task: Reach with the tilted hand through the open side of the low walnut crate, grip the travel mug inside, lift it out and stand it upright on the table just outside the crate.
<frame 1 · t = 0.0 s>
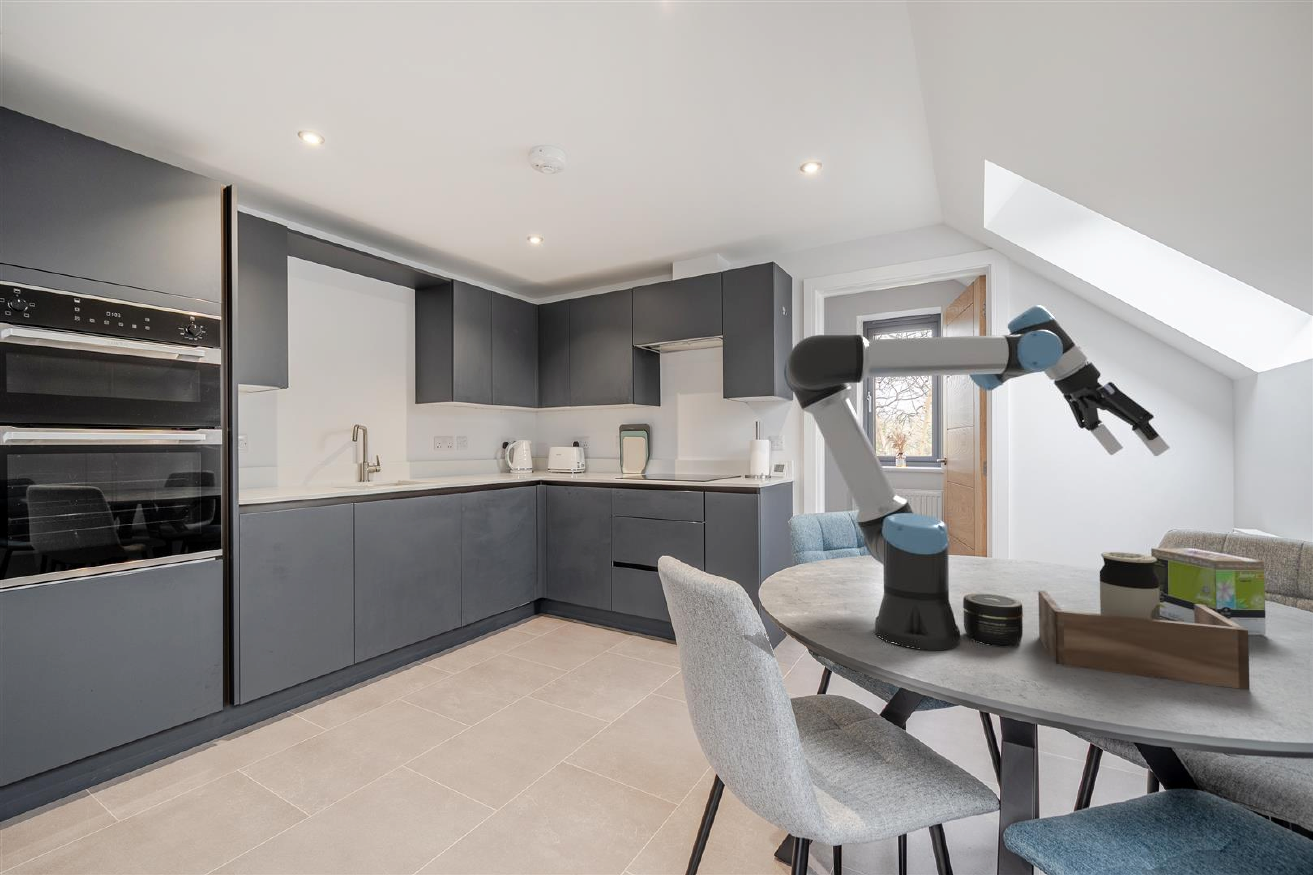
hand: (1138, 451, 116), 36 cm above the table, tool tilted 35°, fingers open, 13 cm apart
walnut crate: (1130, 658, 98), on the table
jar: (992, 640, 109), on the table
tea box: (1205, 625, 117), on the table
travel mug: (1130, 660, 98), resting in walnut crate
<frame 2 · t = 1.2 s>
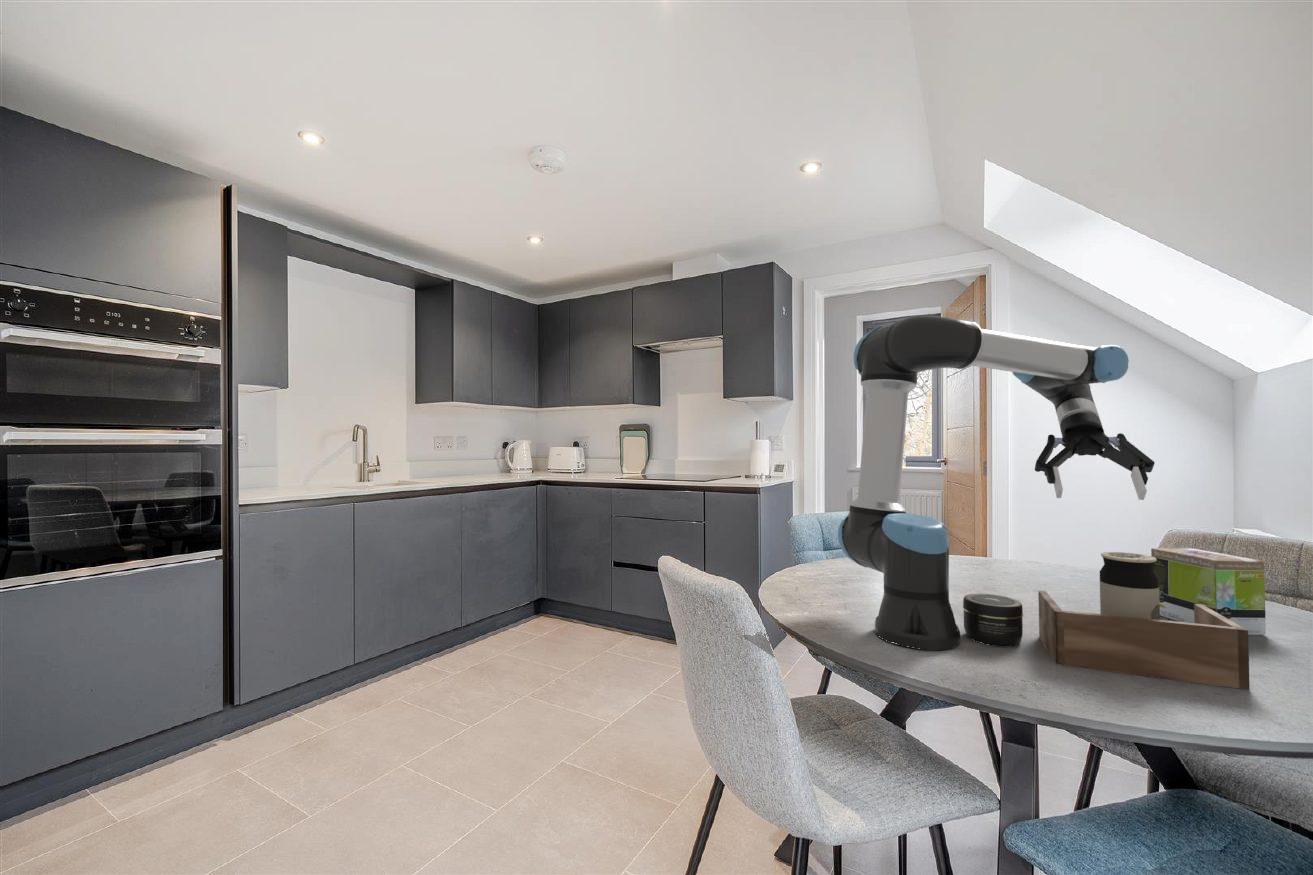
hand: (1100, 494, 114), 27 cm above the table, tool tilted 45°, fingers open, 13 cm apart
nothing on the table moved.
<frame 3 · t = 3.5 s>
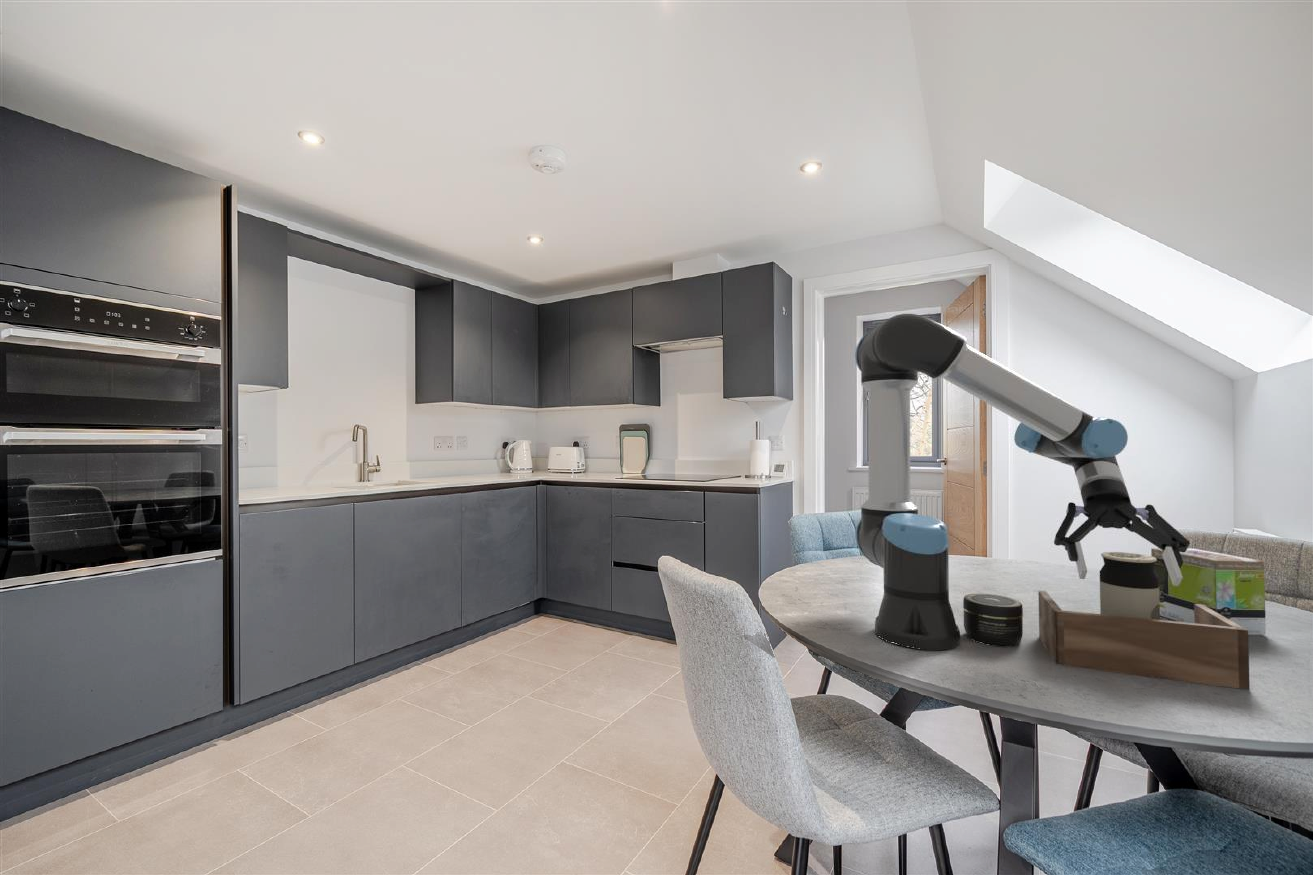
hand: (1129, 578, 102), 13 cm above the table, tool tilted 45°, fingers open, 13 cm apart
nothing on the table moved.
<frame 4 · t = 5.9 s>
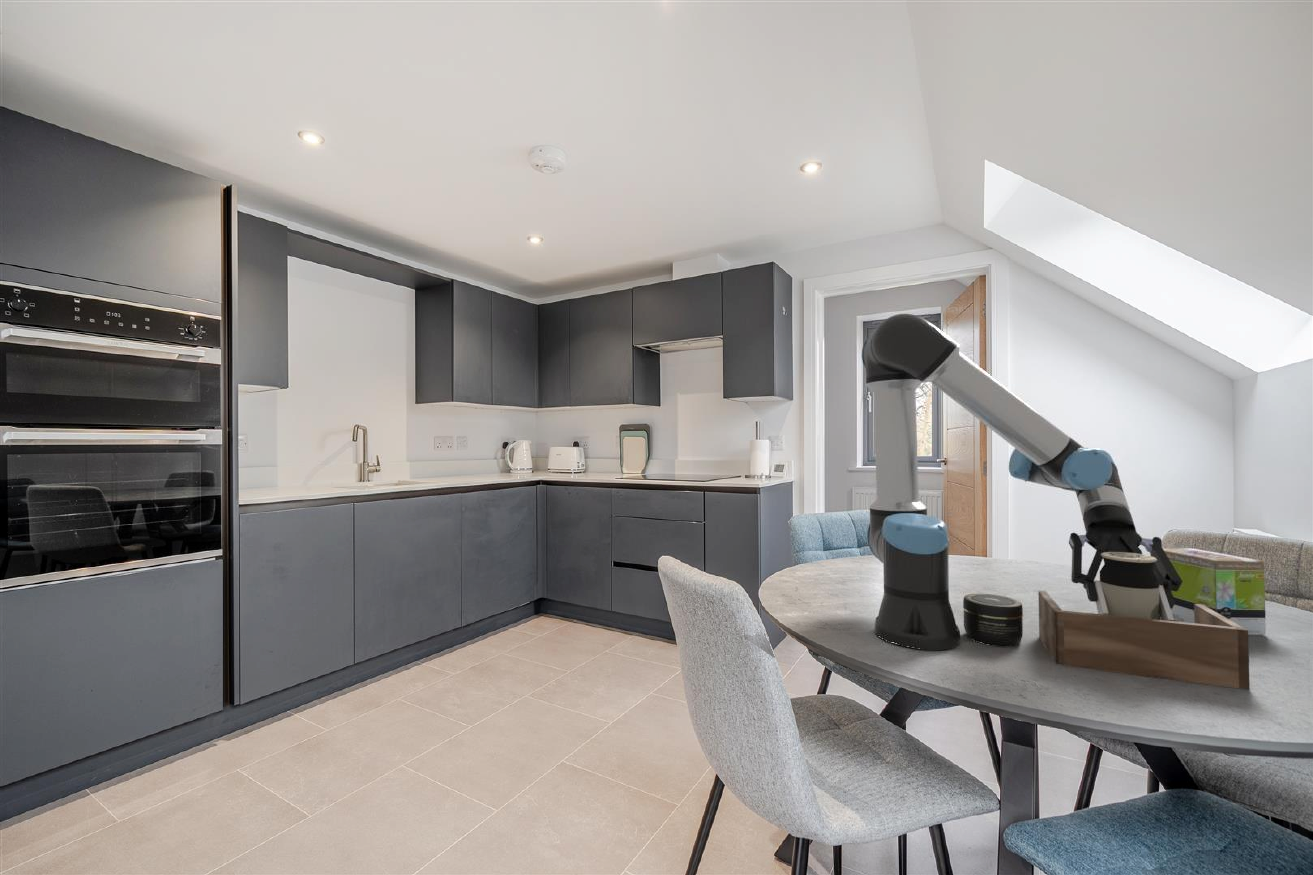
hand: (1136, 620, 95), 8 cm above the table, tool tilted 45°, fingers closed on travel mug, 8 cm apart
travel mug: (1130, 659, 98), resting in walnut crate, touching gripper
everything else where it was.
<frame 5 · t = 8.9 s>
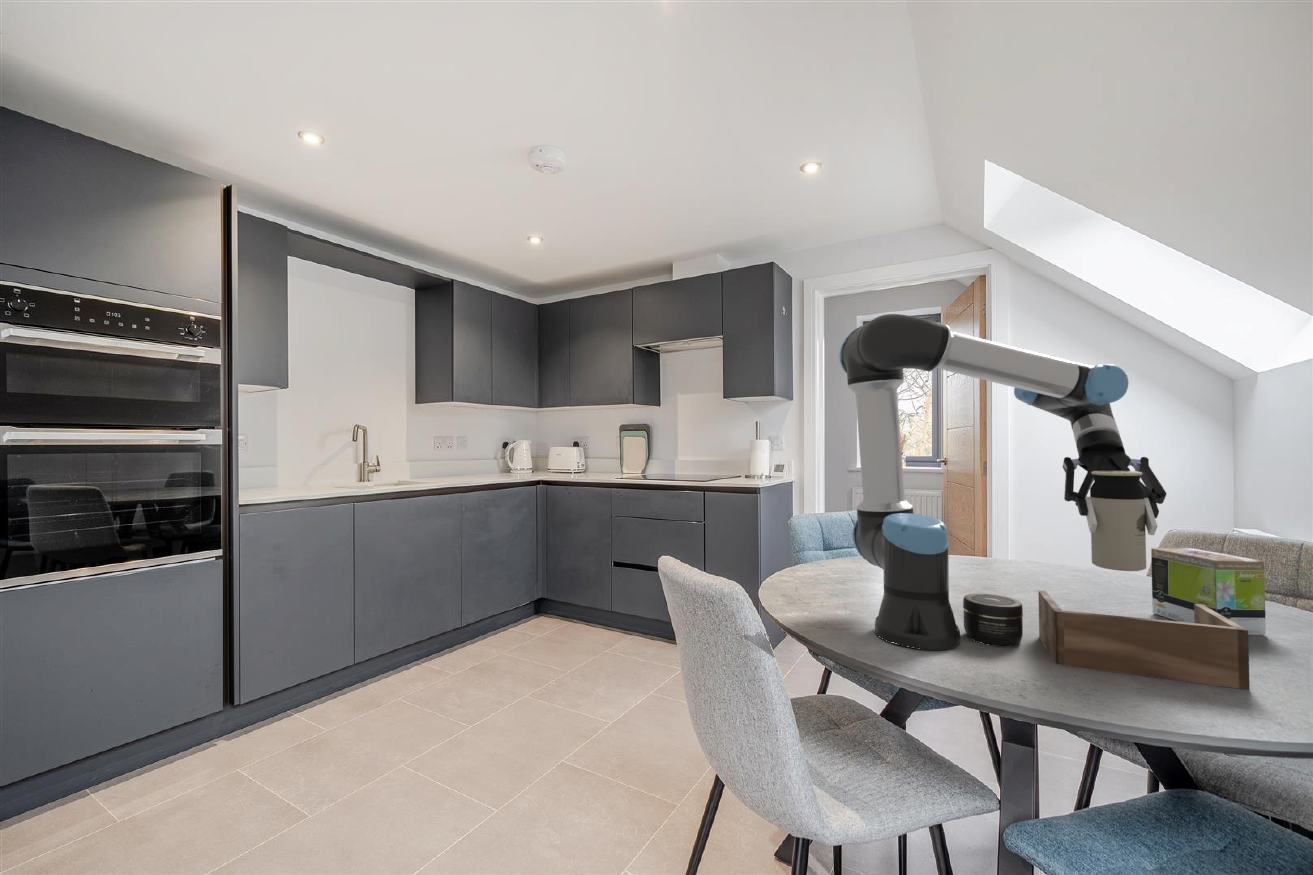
hand: (1122, 529, 103), 22 cm above the table, tool tilted 45°, fingers closed on travel mug, 8 cm apart
travel mug: (1118, 568, 106), point 14 cm above the table, touching gripper
everything else where it was.
when the fingers open (9 cm above the table, at t = 12.4 s): travel mug drops 1 cm, on the table.
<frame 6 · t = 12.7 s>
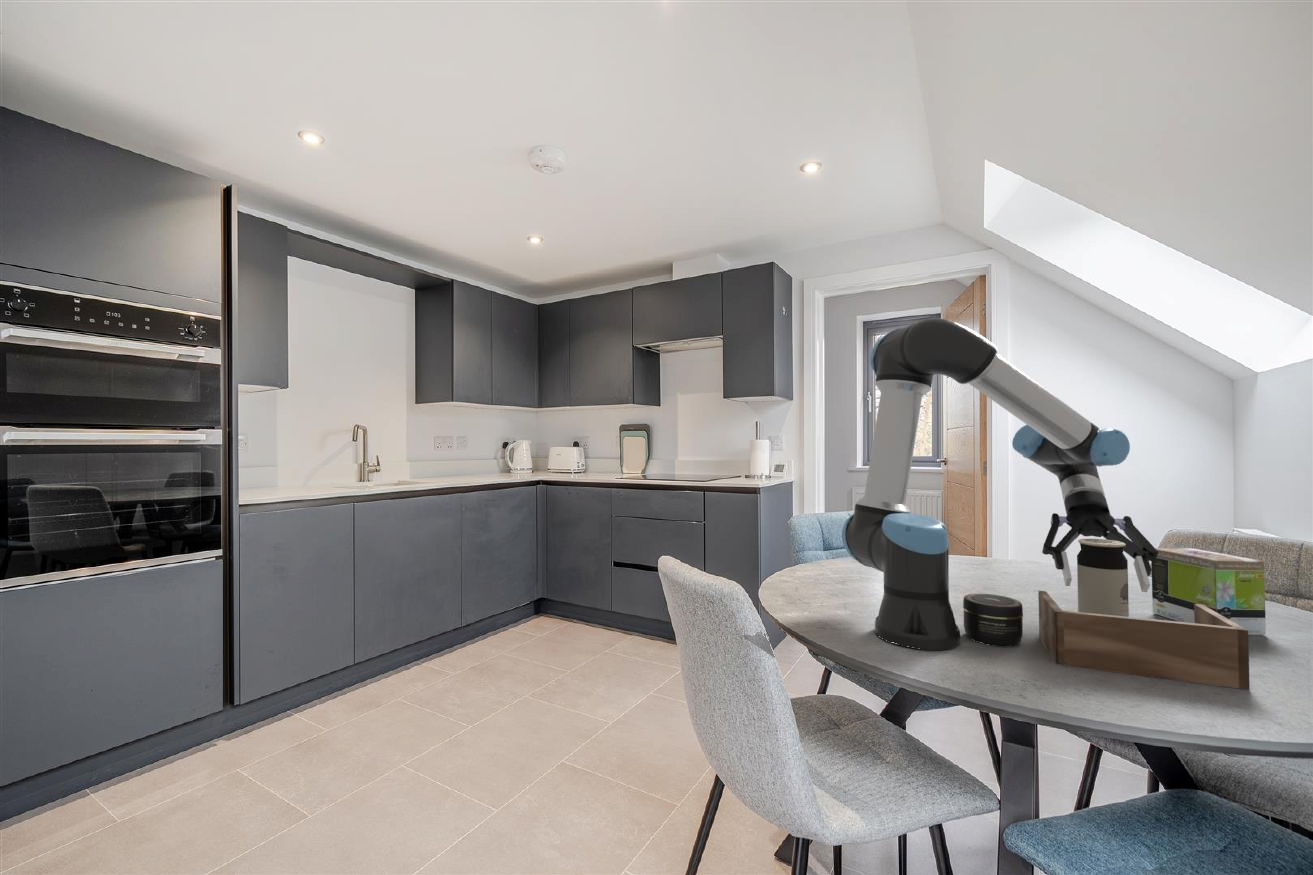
hand: (1106, 585, 110), 10 cm above the table, tool tilted 45°, fingers open, 11 cm apart
travel mug: (1103, 632, 113), on the table
everything else where it was.
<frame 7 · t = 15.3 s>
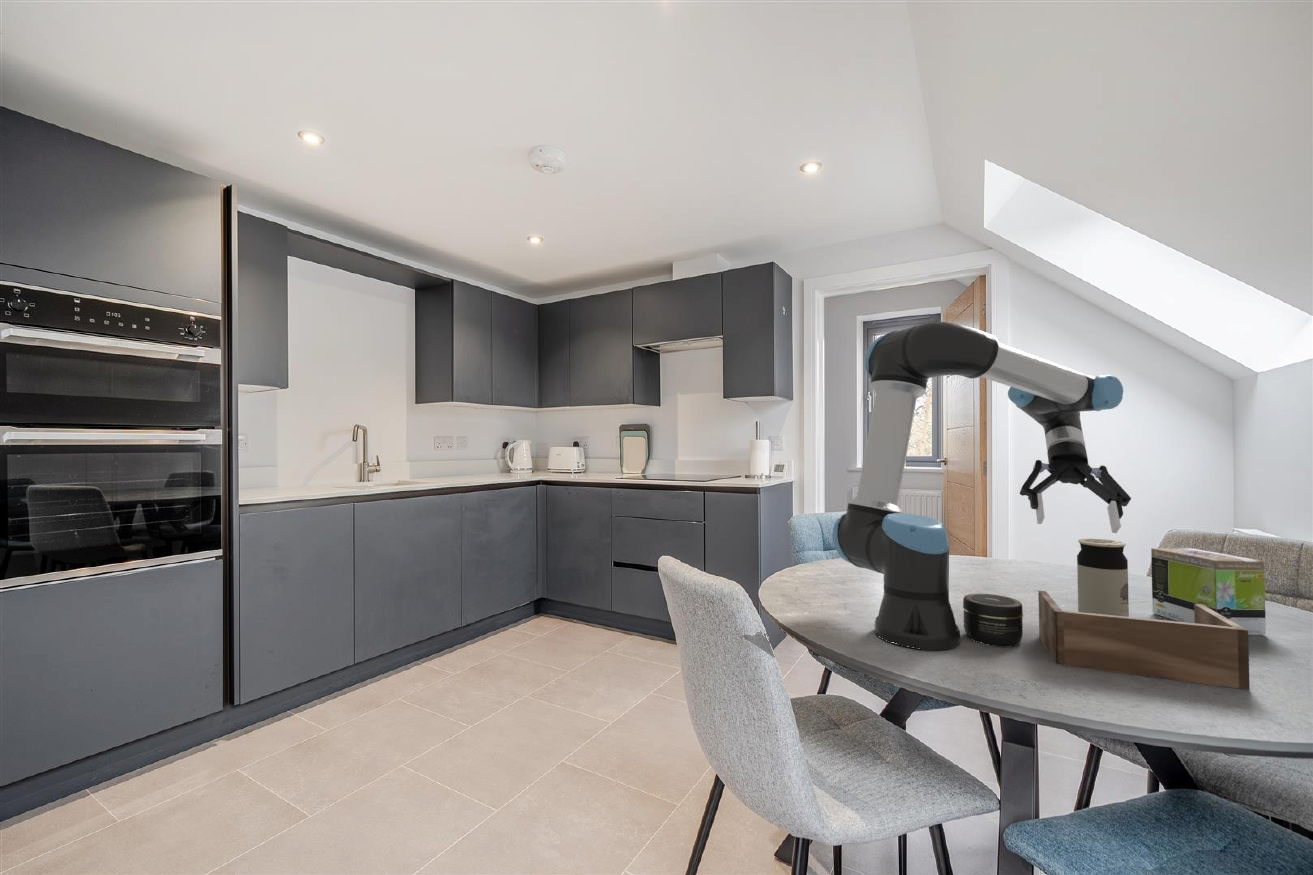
hand: (1077, 525, 122), 20 cm above the table, tool tilted 40°, fingers open, 13 cm apart
nothing on the table moved.
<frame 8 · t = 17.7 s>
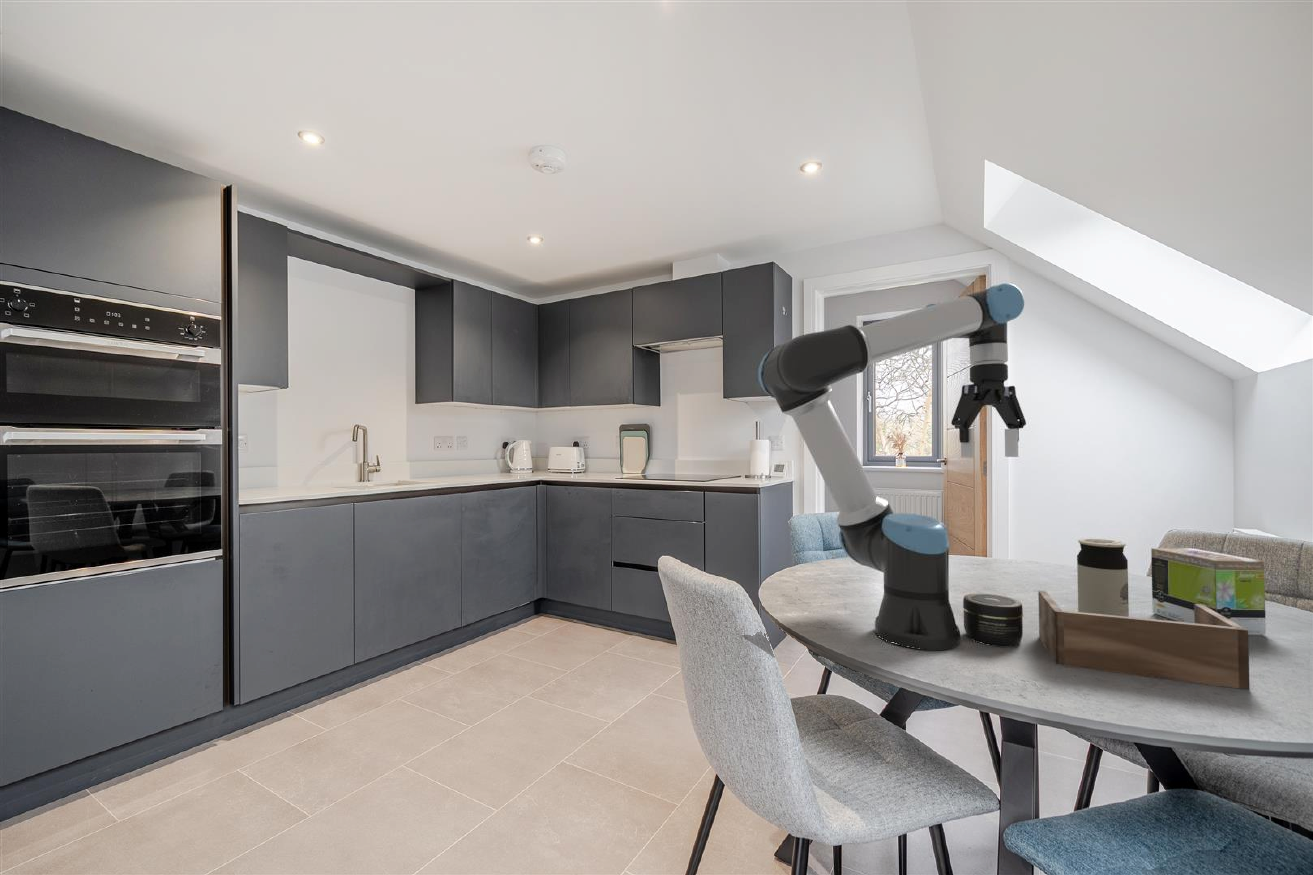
hand: (989, 457, 128), 35 cm above the table, tool pointing down, fingers open, 13 cm apart
nothing on the table moved.
at the end: travel mug inside the target area (0.5 cm from its centre), on the table; travel mug tilted 0°; the gripper is holding nothing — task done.
